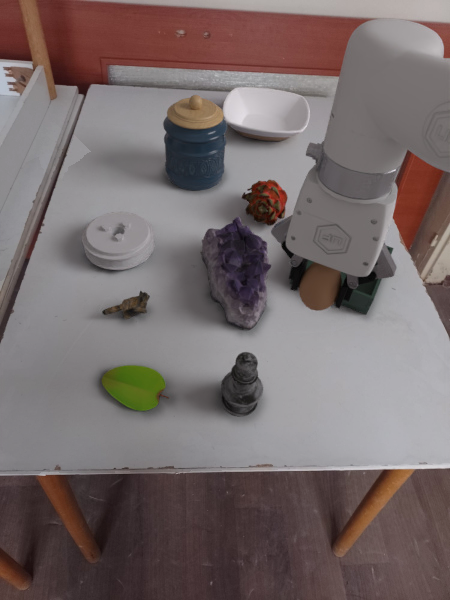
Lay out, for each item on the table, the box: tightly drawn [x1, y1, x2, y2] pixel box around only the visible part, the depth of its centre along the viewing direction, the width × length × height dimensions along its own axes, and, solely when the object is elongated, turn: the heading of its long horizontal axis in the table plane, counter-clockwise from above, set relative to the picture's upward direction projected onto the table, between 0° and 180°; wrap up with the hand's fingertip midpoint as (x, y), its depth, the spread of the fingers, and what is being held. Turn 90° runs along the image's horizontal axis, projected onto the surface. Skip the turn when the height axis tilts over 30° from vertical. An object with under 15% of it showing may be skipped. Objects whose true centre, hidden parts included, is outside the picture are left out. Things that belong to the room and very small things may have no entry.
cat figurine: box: [101, 290, 151, 320], centre depth 73 cm, size 3×8×4 cm, turn 105°
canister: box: [162, 94, 228, 191], centre depth 93 cm, size 13×13×18 cm
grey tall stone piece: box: [220, 351, 264, 417], centre depth 60 cm, size 6×6×12 cm
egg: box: [298, 262, 342, 312], centre depth 57 cm, size 5×5×8 cm
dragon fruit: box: [241, 179, 288, 227], centre depth 90 cm, size 8×8×12 cm
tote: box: [289, 245, 394, 315], centre depth 81 cm, size 14×14×4 cm
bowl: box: [221, 86, 311, 142], centre depth 113 cm, size 22×22×5 cm
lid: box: [81, 211, 155, 271], centre depth 82 cm, size 13×13×5 cm
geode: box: [200, 216, 272, 331], centre depth 76 cm, size 20×12×10 cm, turn 12°
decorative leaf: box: [101, 364, 170, 412], centre depth 65 cm, size 8×9×1 cm
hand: (318, 290), depth 57 cm, fingers closed on egg, 5 cm apart
